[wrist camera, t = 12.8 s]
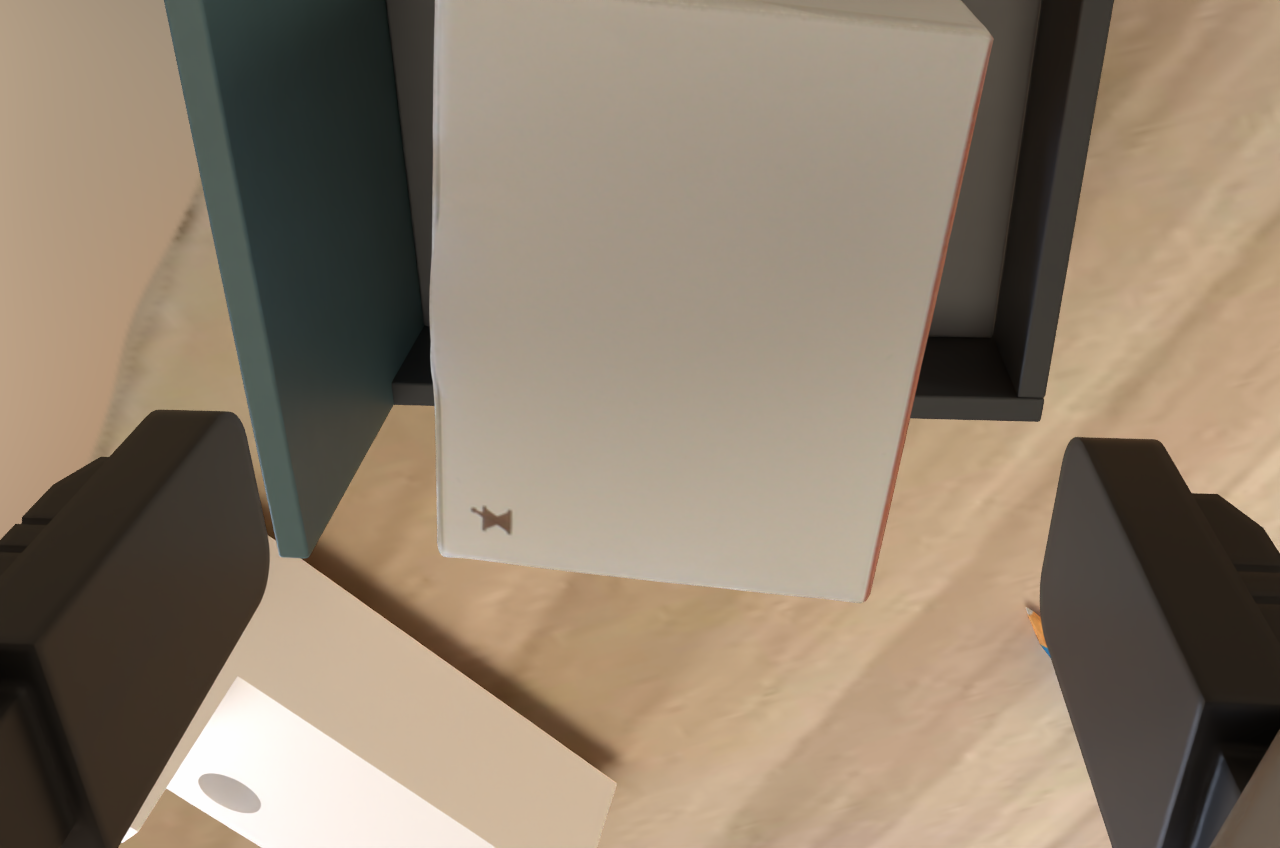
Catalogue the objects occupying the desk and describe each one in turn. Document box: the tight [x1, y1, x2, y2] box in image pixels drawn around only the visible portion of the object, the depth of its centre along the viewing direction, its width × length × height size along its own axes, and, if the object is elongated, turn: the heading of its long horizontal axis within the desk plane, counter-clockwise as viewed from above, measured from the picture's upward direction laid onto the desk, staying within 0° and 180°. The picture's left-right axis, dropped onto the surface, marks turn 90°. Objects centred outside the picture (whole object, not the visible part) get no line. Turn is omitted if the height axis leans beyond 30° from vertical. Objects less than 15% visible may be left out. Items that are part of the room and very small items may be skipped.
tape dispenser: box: [121, 536, 617, 848], centre depth 42 cm, size 18×10×10 cm, turn 48°
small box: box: [429, 0, 994, 603], centre depth 20 cm, size 8×6×13 cm
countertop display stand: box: [164, 0, 1114, 558], centre depth 25 cm, size 15×13×16 cm
